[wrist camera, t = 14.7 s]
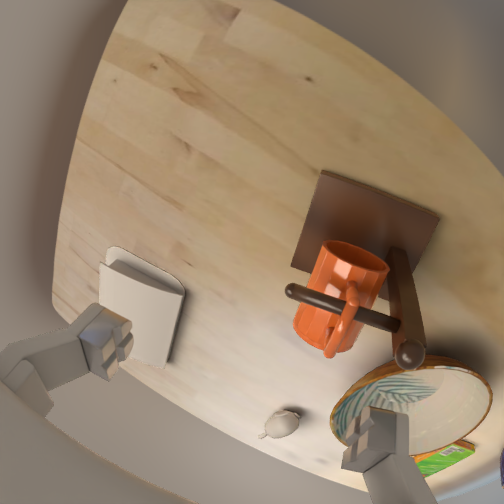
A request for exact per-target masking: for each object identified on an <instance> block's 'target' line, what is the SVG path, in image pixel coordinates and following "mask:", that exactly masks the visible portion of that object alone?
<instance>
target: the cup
mask: <svg viewBox="0 0 504 504" xmlns="http://www.w3.org/2000/svg"><path fill="white" fill-rule="evenodd" d="M389 271H390V268H389V266H388V264H386V263H385V262H384V261H383V260H382V259H381V258H379V257H378V256H376V255H374V254H373V253H371V252H369V251H367V250H365V249H363V248H360V247H358V246H355V245H352V244H350V243H346V242H342V241H337V240H326V241H323V243H322V245H321V248H320V251H319V254H318V256H317V259H316V262H315V264H314V267H313V270H312V273H311V275H310V278H309V280H308V283H307V286H306V287H307V288H310V289H313V290H315V291H318V292H321V293H324V294H327V295H330V296H333V297H336V298H339V299H341V300H344V301H347V302H346V305H345V307H344V309H343V311H342V313H341V316H340V315H337V314H334V313H331V312H328V311H325V310H322V309H320V308H317V307H314V306H311V305H308V304H305V303H302V302H300V304H299V306H298V309H297V311H296V314H295V317H294V320H293V327H294V329H295V331H296V333H297V334H298V335H299V336H300V337H301V338H302V339H303V340H304V341H306V342H307V343H309V344H310V345H312V346H314V347H316V348H318V349H321V350H324V352H323V353H324V356H325V357H326V358H333V357H334V356H335V354H336V353H339V352H345V351H348V350H349V349H351V348H352V346H353V345H354V343H355V342H356V340H357V338H358V336H359V334H360V332H361V330H362V328H363V326H364V323H361V322H358V321H355V320H353V319H354V317H355V315H356V312H357V310H358V308H359V306H362V307H365V308H368V309H371V310H372V308H373V306H374V304H375V302H376V300H377V298H378V296H379V294H380V291H381V289H382V287H383V285H384V283H385V280H386V278H387V276H388V274H389Z"/></svg>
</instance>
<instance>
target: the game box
mask: <svg viewBox="0 0 504 504" xmlns="http://www.w3.org/2000/svg"><path fill="white" fill-rule="evenodd" d="M473 453H475V448H474V445H472V444H470V443H467V442H464V441H462V440H459V441H457V442H456V443H454V444H451V445H449V446H447V447H445V448H442V449H439V450H436V451H433V452H430V453H426V454H422V455H417V456H415V457H413V459H414V461H415V463H416V464H417V466H418V468H419V470H420V472H421V474H422V475H423V477H424V478H425V477H428V476H430V475H432V474H434V473H436V472H439V471H441V470H443V469H445V468H447V467H449V466H451V465H453V464H455V463H457V462H459V461H460V460H462V459H464V458H466V457H468V456H470V455H472V454H473Z"/></svg>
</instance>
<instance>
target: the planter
mask: <svg viewBox="0 0 504 504" xmlns="http://www.w3.org/2000/svg"><path fill="white" fill-rule="evenodd" d="M500 472H501V484H502V488H503V489H504V449H503V451H502V453H501V456H500Z"/></svg>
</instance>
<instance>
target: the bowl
mask: <svg viewBox="0 0 504 504" xmlns="http://www.w3.org/2000/svg"><path fill="white" fill-rule="evenodd" d="M492 398H493V393H492V390H491V387H490V385H489V384H488V382H487V381H486V380H485V379H484V378H483V377H482V376H481V375H480V374H479V373H478V372H476V371H475V370H474V369H472V368H471V367H469V366H467V365H466V364H464V363H462V362H460V361H457V360H454V359H451V358H448V357H443V356H435V355H425V358H424V361H423V363H422V364H421V365H420V366H419V367H418V368H416V369H413V370H404V369H402V368H400V367H399V366H398V364H397V363H396V360H393V361H391V362H389V363H386V364H384V365H382V366H380V367H378V368H376V369H374V370H373V371H371V372H369V373H367V374H366V375H365V376H364V377H362V378H361V379H360V380H359V381H357V382H356V383H355V384H354V385H352V386H351V388H350V389H349V390H348V391H347V392H346V393H345V394H344V396H343V397H342V398H341V399H340V400H339V402H338V403H337V404H336V405H335V407H334V409H333V411H332V413H331V415H330V427H331V430H332V433H333V434H334V435H335V437H336V438H337V439H338V440H339V441H340V442H341V443H343V444H344V445H345V446H347V447H348V445H347V443H346V441H345V440H346V434H347V431H348V428H349V426H350V424H351V422H352V421H353V419H354V418H355V417H357V416H360V415H361V413H362V410H363V409H364V408H365V407H366V406H373V407H377V408H382V409H387V410H391V411H394V412H399V413H404V414H407V415H408V417H409V456H417V455H422V454H426V453H430V452H433V451H436V450H439V449H442V448H445V447H447V446H449V445H451V444H454V443H456V442H457V441H459V440H461V439H462V438H464V437H466V436H467V435H468V434H469V433H471V432H472V431H473V430H475V429H476V428H477V427H478V426H479V425H480V423H481V422H482V421H483V420H484V419H485V417H486V416H487V414H488V412H489V410H490V408H491V405H492Z"/></svg>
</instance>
